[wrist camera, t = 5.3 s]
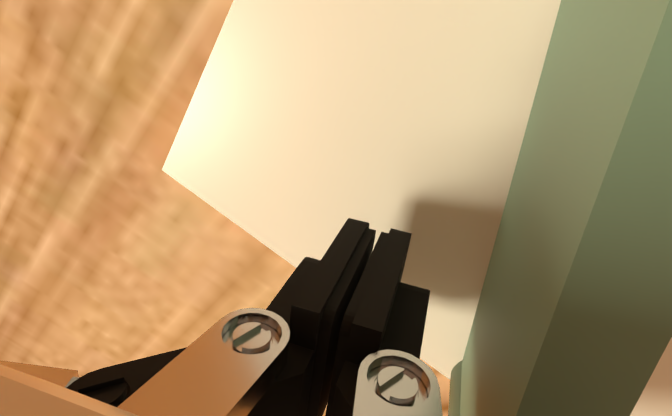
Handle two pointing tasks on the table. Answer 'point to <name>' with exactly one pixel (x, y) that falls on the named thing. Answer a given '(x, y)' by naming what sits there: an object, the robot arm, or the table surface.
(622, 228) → the fence panel
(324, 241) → the card
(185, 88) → the table surface
